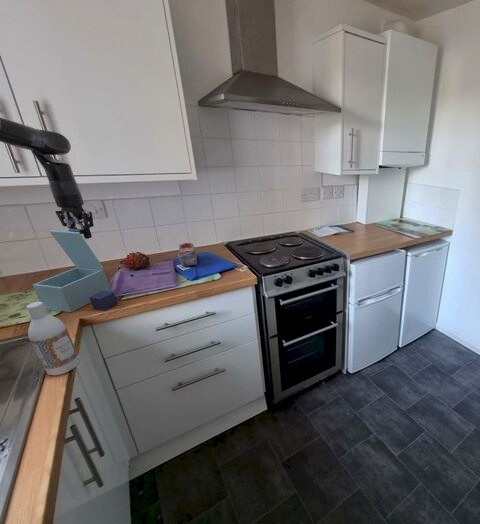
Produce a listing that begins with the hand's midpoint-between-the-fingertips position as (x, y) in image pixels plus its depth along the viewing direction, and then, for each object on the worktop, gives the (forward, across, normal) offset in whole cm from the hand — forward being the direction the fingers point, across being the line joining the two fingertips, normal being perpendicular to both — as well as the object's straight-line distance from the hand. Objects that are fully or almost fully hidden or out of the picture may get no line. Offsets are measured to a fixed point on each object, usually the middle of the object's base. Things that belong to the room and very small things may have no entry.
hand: (82, 237), depth 114 cm
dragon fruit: (+22, -2, +20) cm, 30 cm away
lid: (+4, 0, -4) cm, 5 cm away
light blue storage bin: (+22, 0, -9) cm, 24 cm away
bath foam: (+23, +33, -39) cm, 56 cm away
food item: (+22, +17, +32) cm, 42 cm away
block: (+22, +15, -11) cm, 29 cm away
